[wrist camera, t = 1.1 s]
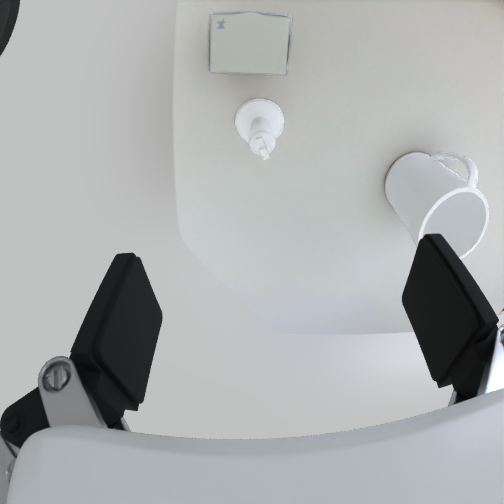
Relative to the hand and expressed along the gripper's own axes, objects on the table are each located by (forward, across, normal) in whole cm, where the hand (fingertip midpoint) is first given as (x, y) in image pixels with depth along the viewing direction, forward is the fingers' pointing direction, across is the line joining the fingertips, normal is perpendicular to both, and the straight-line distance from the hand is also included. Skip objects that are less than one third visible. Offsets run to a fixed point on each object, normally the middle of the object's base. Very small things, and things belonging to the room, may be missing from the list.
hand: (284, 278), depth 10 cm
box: (+23, +1, -8) cm, 24 cm away
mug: (+23, -18, +6) cm, 30 cm away
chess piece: (+23, 0, 0) cm, 23 cm away
